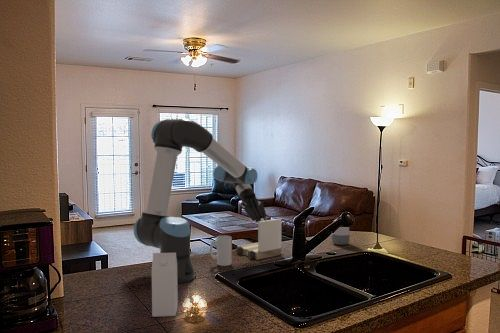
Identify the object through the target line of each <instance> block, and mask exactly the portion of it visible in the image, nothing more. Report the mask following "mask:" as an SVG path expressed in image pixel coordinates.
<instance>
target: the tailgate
mask: <svg viewBox="0 0 500 333" xmlns="http://www.w3.org/2000/svg"><path fill="white" fill-rule="evenodd" d="M282 220H283V219H282V218H275V219H274V218H273V219H268V220H266V219H265V221H259V222H257V224H258V225H257V228H258V229H257V231H258V232H257V238H258V239H257V240H258V253H263V252H268V251H273V250H278V249H281V250H282V248H283V247H282V222H283V221H282Z"/></svg>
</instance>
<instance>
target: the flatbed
mask: <svg viewBox="0 0 500 333" xmlns="http://www.w3.org/2000/svg"><path fill="white" fill-rule="evenodd" d="M281 252H282V249H278V250H273V251H268V252H263V253H258V242H254V243H253V242H252V243H247V244H241V245H237V247H236V248H235V253H236V254H237V255H243V256H246V257H248V258H249V260H252V259H253V260H254V259H255V260H256V261H257V260H262V259H266V258H271V257H277V256H280V255H281Z"/></svg>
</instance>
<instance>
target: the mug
mask: <svg viewBox="0 0 500 333" xmlns="http://www.w3.org/2000/svg"><path fill="white" fill-rule="evenodd" d="M214 245H216V255H215V254H214V252H213V247H214ZM232 245H233V239H232V236H231V235H218V236H216V241H215V240H212V241H211V242H210V245H209V254H210V256H211V259H212V260H216V265H217V266H220V267H228V266H230V265H232V253H233V252H232V248H233V246H232Z"/></svg>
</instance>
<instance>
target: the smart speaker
mask: <svg viewBox="0 0 500 333" xmlns="http://www.w3.org/2000/svg"><path fill="white" fill-rule="evenodd" d="M337 219H338V218H335V219H334V220H333V222H334V221H336V220H337ZM350 236H351V235H350V226H349V227H339V228H338V229H337V230H336V231H335V232H334V233H332V232H331V241H332V243H333V244H334V245H336V246H346V245H349V243H350Z"/></svg>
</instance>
